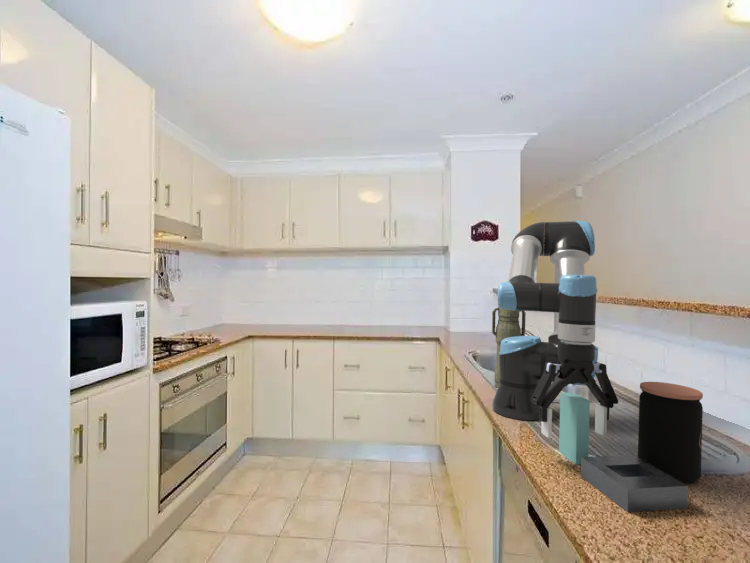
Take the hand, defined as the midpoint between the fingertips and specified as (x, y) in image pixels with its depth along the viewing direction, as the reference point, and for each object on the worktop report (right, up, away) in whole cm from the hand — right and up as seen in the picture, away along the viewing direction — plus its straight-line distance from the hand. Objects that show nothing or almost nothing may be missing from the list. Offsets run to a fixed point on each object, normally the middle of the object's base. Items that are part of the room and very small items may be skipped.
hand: (573, 434), depth 86 cm
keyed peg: (0, -5, 0) cm, 5 cm away
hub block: (+4, -5, -14) cm, 15 cm away
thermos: (+4, -6, +56) cm, 57 cm away
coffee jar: (+17, -6, -6) cm, 19 cm away
